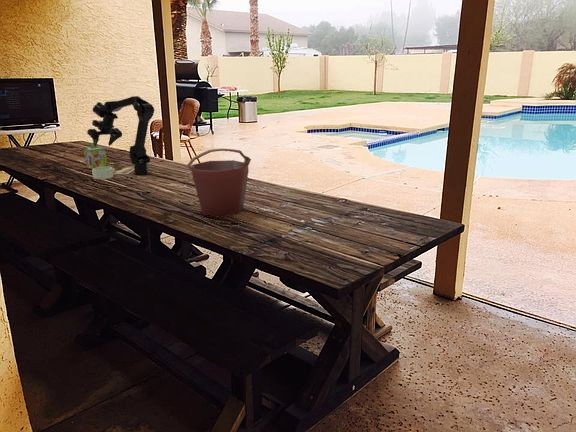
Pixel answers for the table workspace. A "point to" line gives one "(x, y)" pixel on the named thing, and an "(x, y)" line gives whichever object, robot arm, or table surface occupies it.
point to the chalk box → (95, 157)
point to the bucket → (220, 184)
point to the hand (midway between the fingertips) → (102, 145)
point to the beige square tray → (120, 168)
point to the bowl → (102, 172)
